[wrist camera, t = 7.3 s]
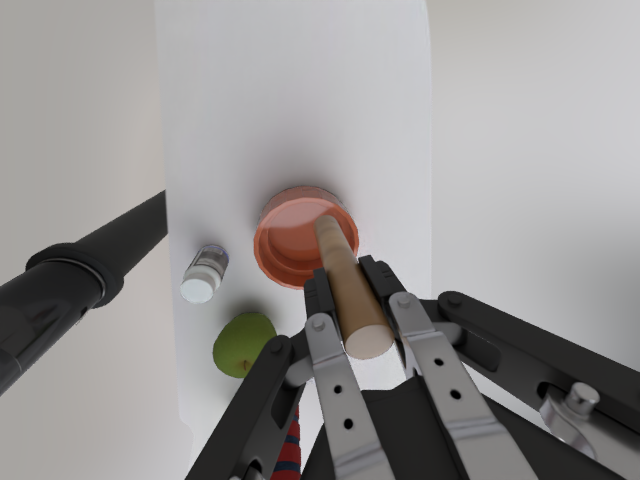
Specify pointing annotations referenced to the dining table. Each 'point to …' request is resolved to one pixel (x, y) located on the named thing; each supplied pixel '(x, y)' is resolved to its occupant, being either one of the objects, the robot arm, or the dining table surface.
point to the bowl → (297, 234)
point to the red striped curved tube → (289, 454)
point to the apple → (242, 343)
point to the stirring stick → (351, 294)
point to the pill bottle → (204, 274)
